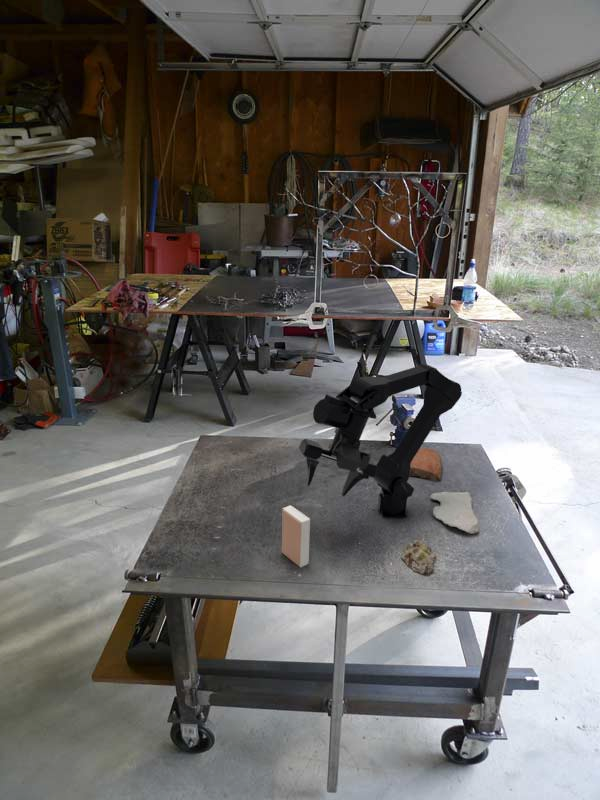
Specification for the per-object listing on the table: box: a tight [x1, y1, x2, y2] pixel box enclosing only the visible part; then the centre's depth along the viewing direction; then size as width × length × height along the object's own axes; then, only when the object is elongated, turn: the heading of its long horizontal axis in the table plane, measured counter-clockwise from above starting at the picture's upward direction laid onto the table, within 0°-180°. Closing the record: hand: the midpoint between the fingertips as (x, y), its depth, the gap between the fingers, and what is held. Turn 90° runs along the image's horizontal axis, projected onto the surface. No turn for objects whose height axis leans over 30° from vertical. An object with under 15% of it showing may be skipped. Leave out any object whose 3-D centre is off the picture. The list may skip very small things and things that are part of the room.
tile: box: [281, 504, 311, 568], centre depth 136 cm, size 2×7×12 cm, turn 39°
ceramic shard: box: [410, 448, 443, 482], centre depth 180 cm, size 15×6×15 cm
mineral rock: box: [400, 539, 437, 576], centre depth 138 cm, size 11×4×8 cm
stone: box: [429, 491, 480, 534], centre depth 157 cm, size 13×4×20 cm
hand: (325, 490), depth 143 cm, fingers open, 9 cm apart
